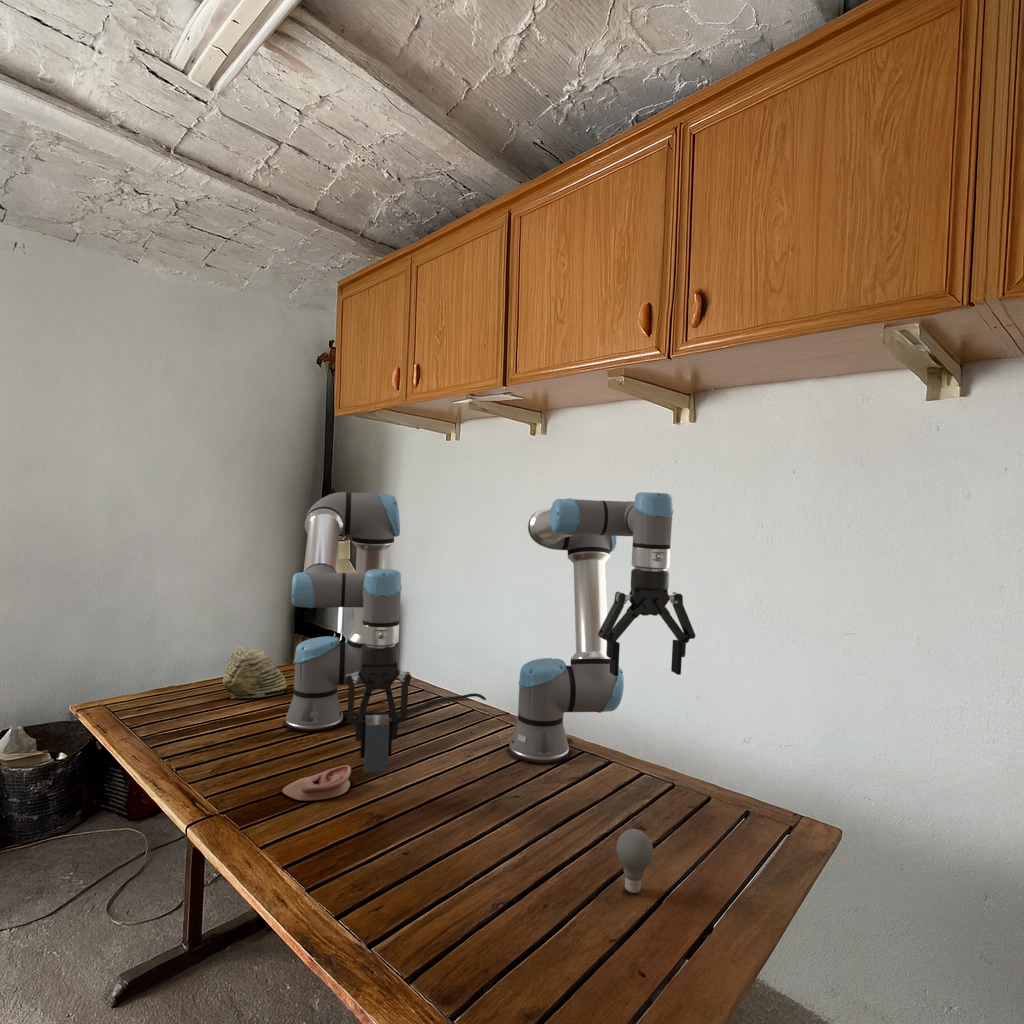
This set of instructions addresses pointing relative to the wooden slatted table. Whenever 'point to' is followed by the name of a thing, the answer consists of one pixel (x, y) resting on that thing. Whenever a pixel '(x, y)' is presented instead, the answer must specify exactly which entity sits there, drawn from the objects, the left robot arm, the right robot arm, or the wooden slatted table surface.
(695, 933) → the wooden slatted table surface
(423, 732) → the wooden slatted table surface
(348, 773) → the anatomical model
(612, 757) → the wooden slatted table surface
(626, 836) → the light bulb
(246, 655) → the fossil
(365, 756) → the brick
